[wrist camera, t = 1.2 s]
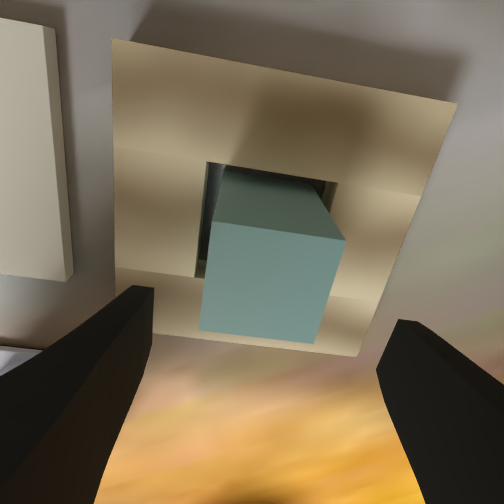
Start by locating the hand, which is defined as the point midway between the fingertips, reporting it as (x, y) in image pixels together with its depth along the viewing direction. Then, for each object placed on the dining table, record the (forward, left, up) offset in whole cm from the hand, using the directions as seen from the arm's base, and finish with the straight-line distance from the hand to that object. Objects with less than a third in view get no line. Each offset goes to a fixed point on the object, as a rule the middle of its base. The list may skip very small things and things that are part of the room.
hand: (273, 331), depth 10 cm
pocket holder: (0, 0, -9) cm, 9 cm away
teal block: (0, 0, -9) cm, 9 cm away
